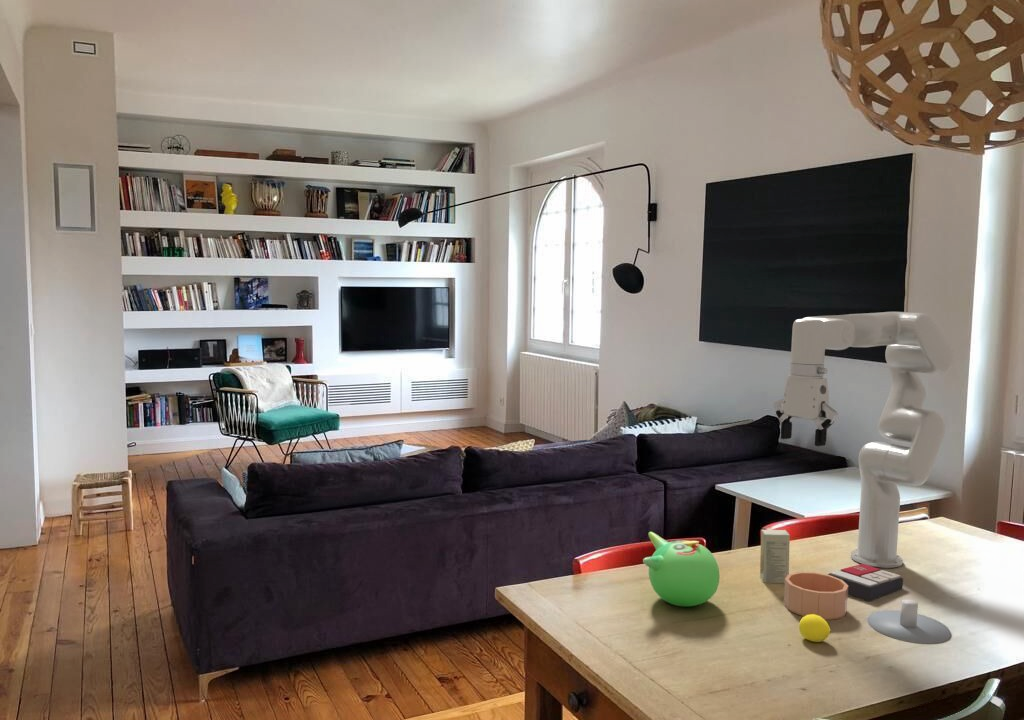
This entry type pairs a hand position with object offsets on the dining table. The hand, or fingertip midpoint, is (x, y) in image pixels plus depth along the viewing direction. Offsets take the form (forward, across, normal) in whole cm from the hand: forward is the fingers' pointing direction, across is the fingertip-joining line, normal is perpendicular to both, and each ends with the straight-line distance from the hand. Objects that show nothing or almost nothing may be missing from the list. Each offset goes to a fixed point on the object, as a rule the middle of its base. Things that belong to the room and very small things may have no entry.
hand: (802, 442), depth 198 cm
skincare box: (+35, +4, +3) cm, 35 cm away
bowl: (+35, -12, +9) cm, 38 cm away
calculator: (+35, -11, -12) cm, 39 cm away
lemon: (+35, -23, +24) cm, 48 cm away
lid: (+35, -29, 0) cm, 46 cm away
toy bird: (+35, +6, +33) cm, 48 cm away
